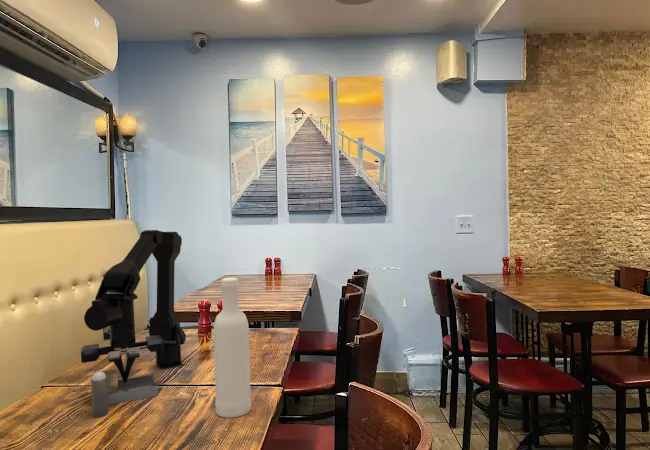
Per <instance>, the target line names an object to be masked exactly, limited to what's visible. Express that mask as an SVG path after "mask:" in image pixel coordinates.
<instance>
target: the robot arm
mask: <svg viewBox="0 0 650 450" xmlns="http://www.w3.org/2000/svg"><path fill="white" fill-rule="evenodd" d="M182 244H183V239H182V237H181V235H180V234H179V233H178V232H177V231H161V230H158V229H149V230H147V229H145V230H142V231H141V232H140V236H139V238H138V239H137V241H136V242H135V244H134V245H133V246H132V247H131V249H130V250H129V252H128V253H127V255H126V256H125V257H124V259H123V260H121V261H120V262H118V263H116V264H114V265H113V266H111V267H110V268H109V269H108V270H107V271H106V272H105V273H104V275H103V277H102V280H101V282H100V285H99V287H98V290H97V292H96V295H95V297H94V298H95V299H94V300H92V301H91V306H90V307H88V308H87V309H86V311H85V313H84V315H83V316H84V317H83V320H84V324H85V325H86V327H87V328H88V329H90V330H92V331H101V330H102V332H103V333H102V336H103V337H102V338H103V342H104V341H109V344H110V345H108V346H102V347H100V344H99V343H95V344H94V343H93V344H89V345H87V344H86V345H83V346H82V347H81V349H80V358H81V359H80V361H81V363H82V364H83V363H92V362H97V360H99V359H100V356H104V355H106V356H107V358H108V362H109V363H112V362H113V363H114V365H115V366H116V369H117V371H118V372H119V374H120V377H121V379H123V381H124V383H126V382H127V379H128V378H129V375H130V373H131V369H132V367H133V365H134V363H135V361H136V359H139V358H140V356H141V354H140V350H143V349H144V350H145V349H147V350H148V351H149V352H150V353H155V363H156V365H157V366H158V368H159V369H165V368H166V369H167V368H171V367H172V368H173V367H178V366H182V365H183V362H182V355H181V353H182V352H181V348H182V347H181V346H182V345H185V342H186V339H187V334H186V333H185V331H184V330H183V328H182V327H181V323H180V321H181V320H180V318H179V316H178V314H177V313H176V310H175V263H176V262H175V261H176V260H177V258H178V257H179V255H180V253H181V249H182V248H181V247H182ZM151 255H152V256H153V257H154V259H155V261H156V311H155V313H154V314H153V316H152V317H150V318H149V320H148V324H149V326H148V334H149V335H148V336H145V338H144V339H145V340H142V341H136V326H135V325H136V323H135V320H136V319H135V303H134V300H137V299H138V298H139V296H138V295H137V294H135V291H136V290H137V288H138V285H139V283H140V281H141V275H140V272H141V270H142V269H143V267H144V266H145V264H146V262H147V261H148V260H149V258H150V257H151ZM123 352H125V363H123V357H122V353H123Z"/></svg>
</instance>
